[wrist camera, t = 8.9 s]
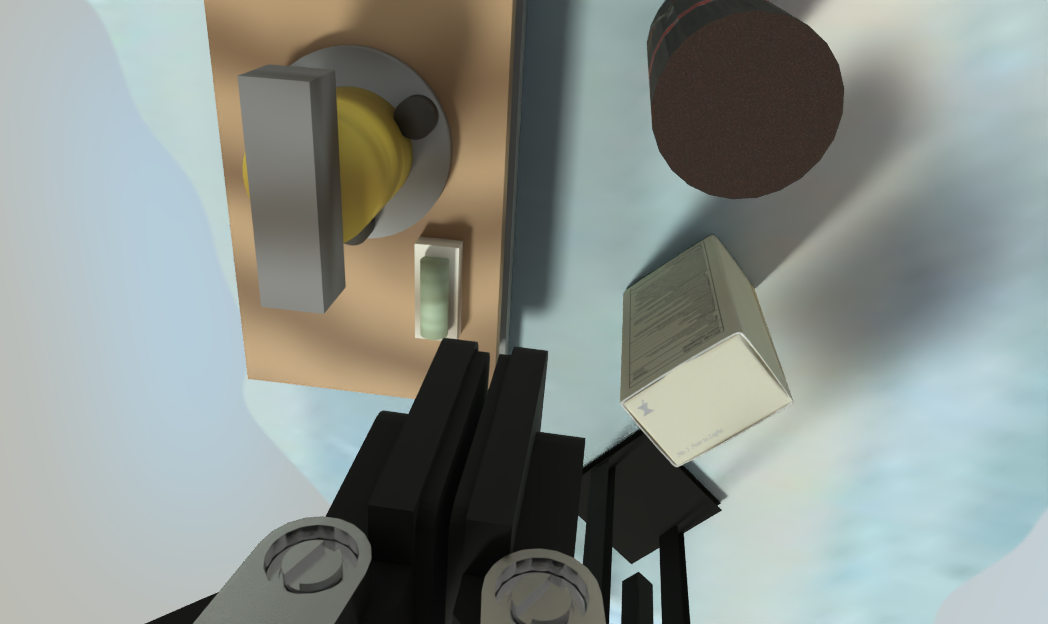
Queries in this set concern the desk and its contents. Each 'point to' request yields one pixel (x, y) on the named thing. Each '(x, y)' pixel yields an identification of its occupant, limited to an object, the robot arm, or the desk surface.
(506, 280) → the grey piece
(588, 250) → the desk surface
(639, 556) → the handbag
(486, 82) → the level plate
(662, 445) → the skincare box
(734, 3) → the deodorant
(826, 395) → the desk surface
